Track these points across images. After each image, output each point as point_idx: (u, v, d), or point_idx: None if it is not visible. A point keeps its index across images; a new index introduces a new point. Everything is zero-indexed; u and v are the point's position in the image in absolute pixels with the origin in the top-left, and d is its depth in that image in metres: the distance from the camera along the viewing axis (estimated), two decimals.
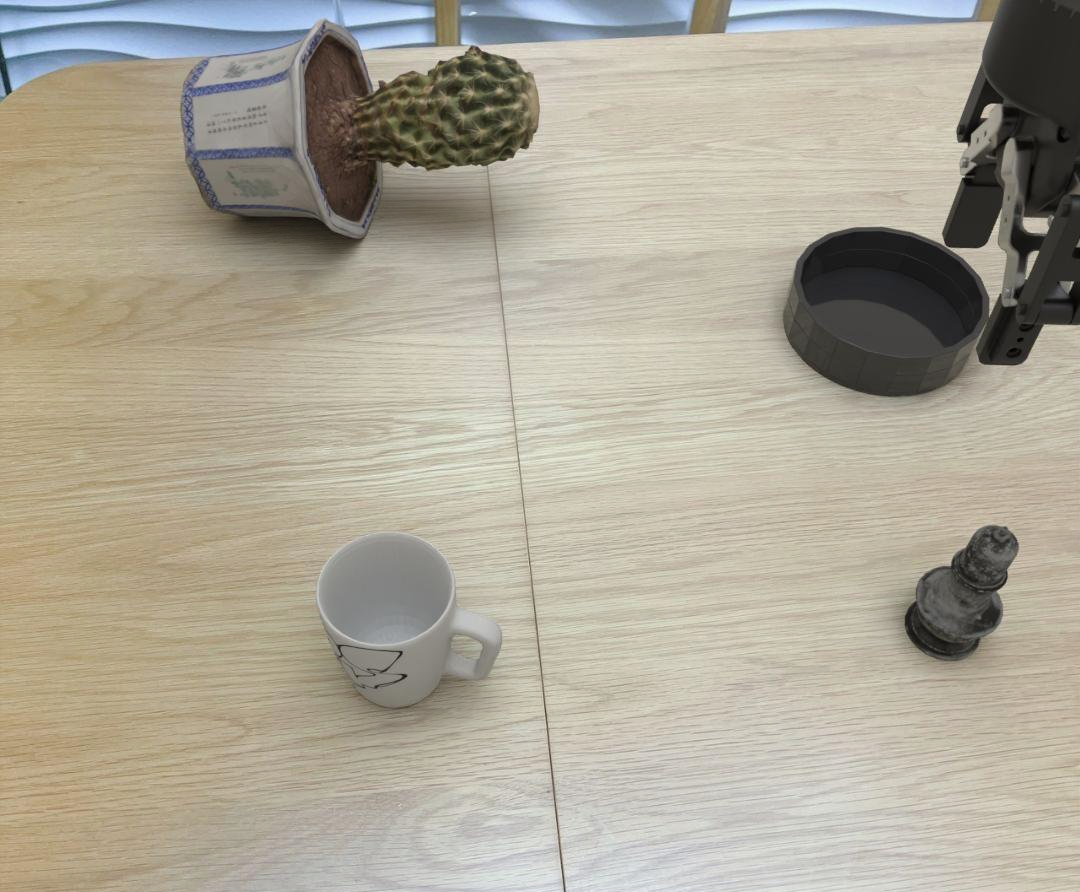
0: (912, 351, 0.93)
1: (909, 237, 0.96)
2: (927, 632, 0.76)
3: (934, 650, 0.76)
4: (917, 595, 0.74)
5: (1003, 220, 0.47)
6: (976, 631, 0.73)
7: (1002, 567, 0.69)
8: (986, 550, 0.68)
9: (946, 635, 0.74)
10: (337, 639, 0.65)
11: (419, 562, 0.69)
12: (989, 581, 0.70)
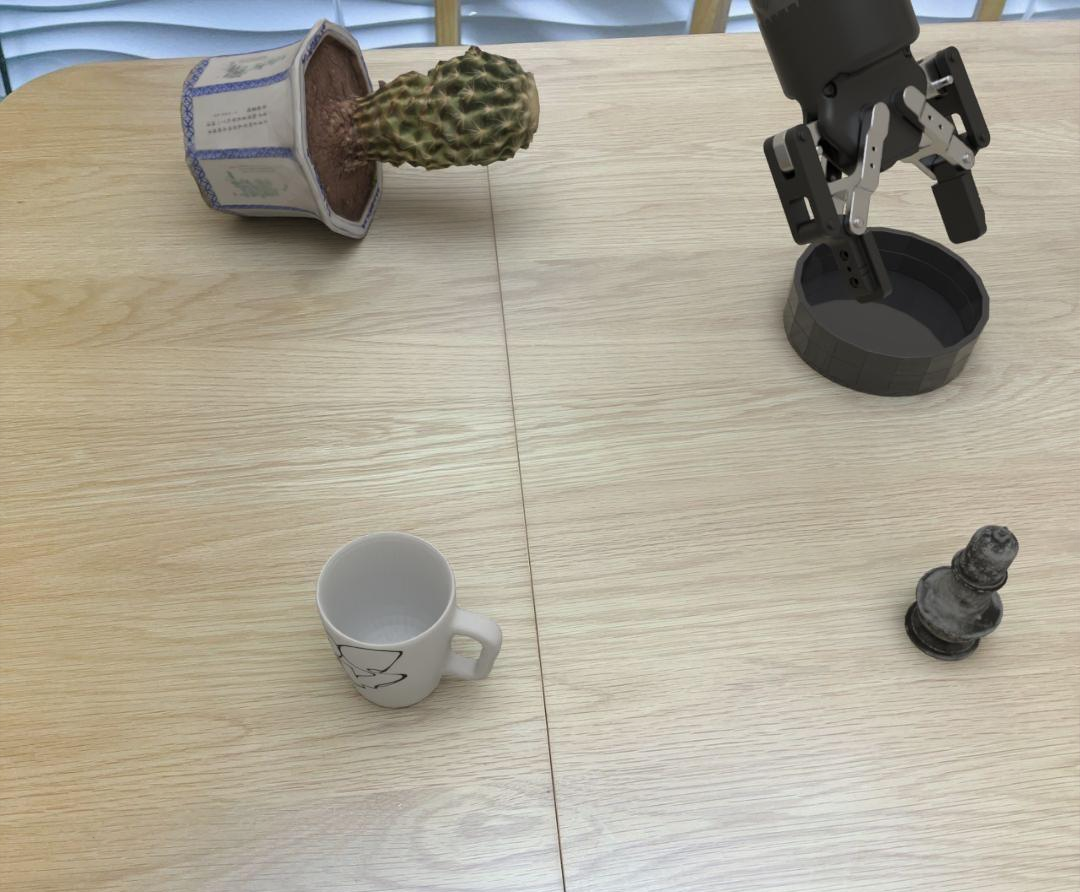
0: (912, 351, 0.93)
1: (909, 237, 0.96)
2: (927, 632, 0.76)
3: (934, 649, 0.76)
4: (917, 595, 0.74)
5: None
6: (976, 631, 0.73)
7: (1002, 567, 0.69)
8: (986, 550, 0.68)
9: (946, 635, 0.74)
10: (337, 639, 0.65)
11: (419, 562, 0.69)
12: (989, 581, 0.70)
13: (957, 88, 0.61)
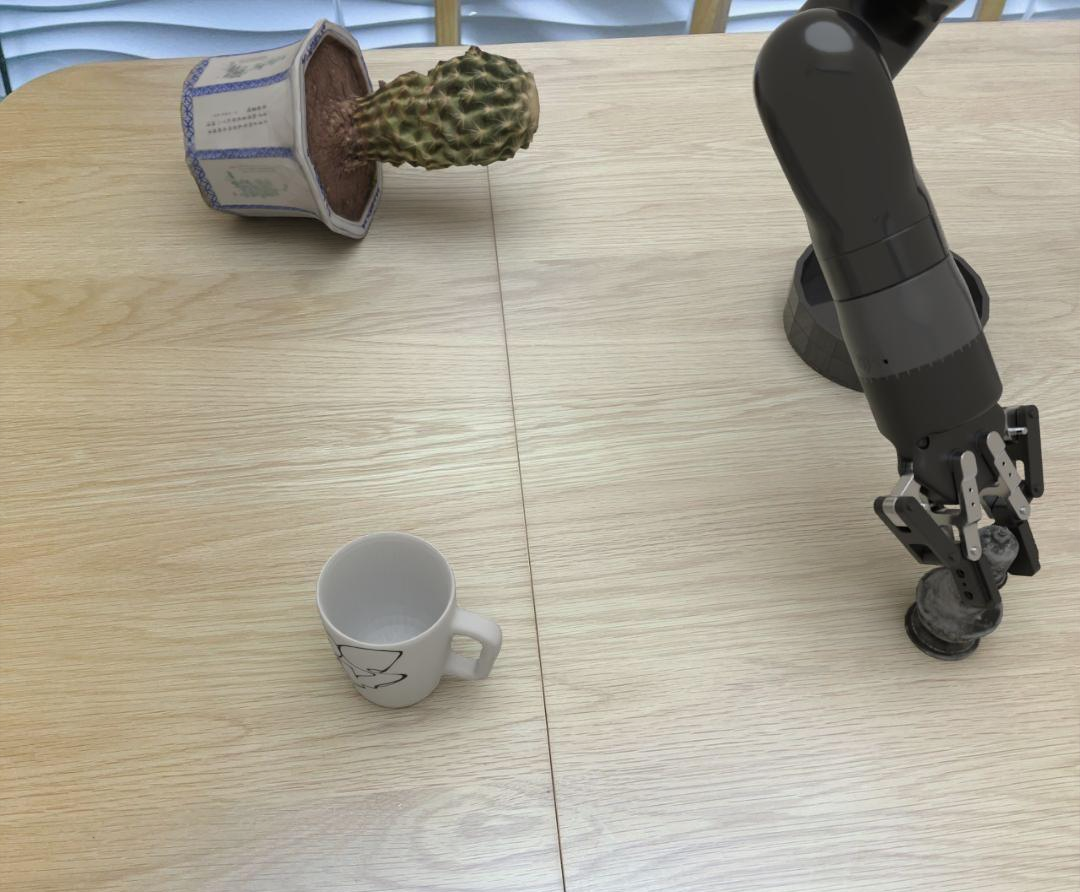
0: None
1: None
2: (927, 632, 0.76)
3: (934, 650, 0.76)
4: (917, 595, 0.74)
5: None
6: (976, 632, 0.73)
7: (1002, 567, 0.69)
8: (986, 550, 0.68)
9: (946, 635, 0.74)
10: (337, 639, 0.65)
11: (419, 562, 0.69)
12: None
13: (1028, 440, 0.69)
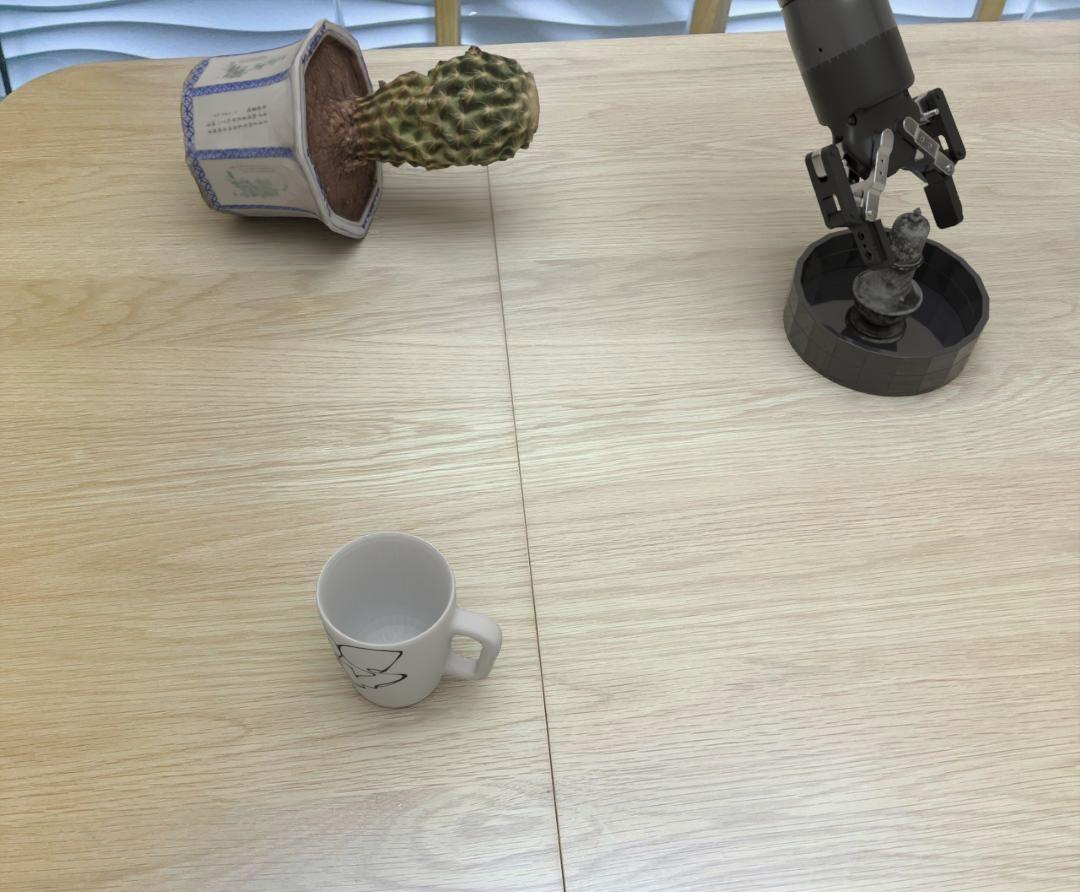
0: (912, 351, 0.93)
1: None
2: (863, 323, 0.94)
3: (868, 335, 0.93)
4: (853, 286, 0.92)
5: None
6: (900, 310, 0.90)
7: (917, 244, 0.86)
8: (903, 228, 0.86)
9: (876, 316, 0.91)
10: (337, 639, 0.65)
11: (419, 562, 0.69)
12: (908, 259, 0.88)
13: (942, 117, 0.86)
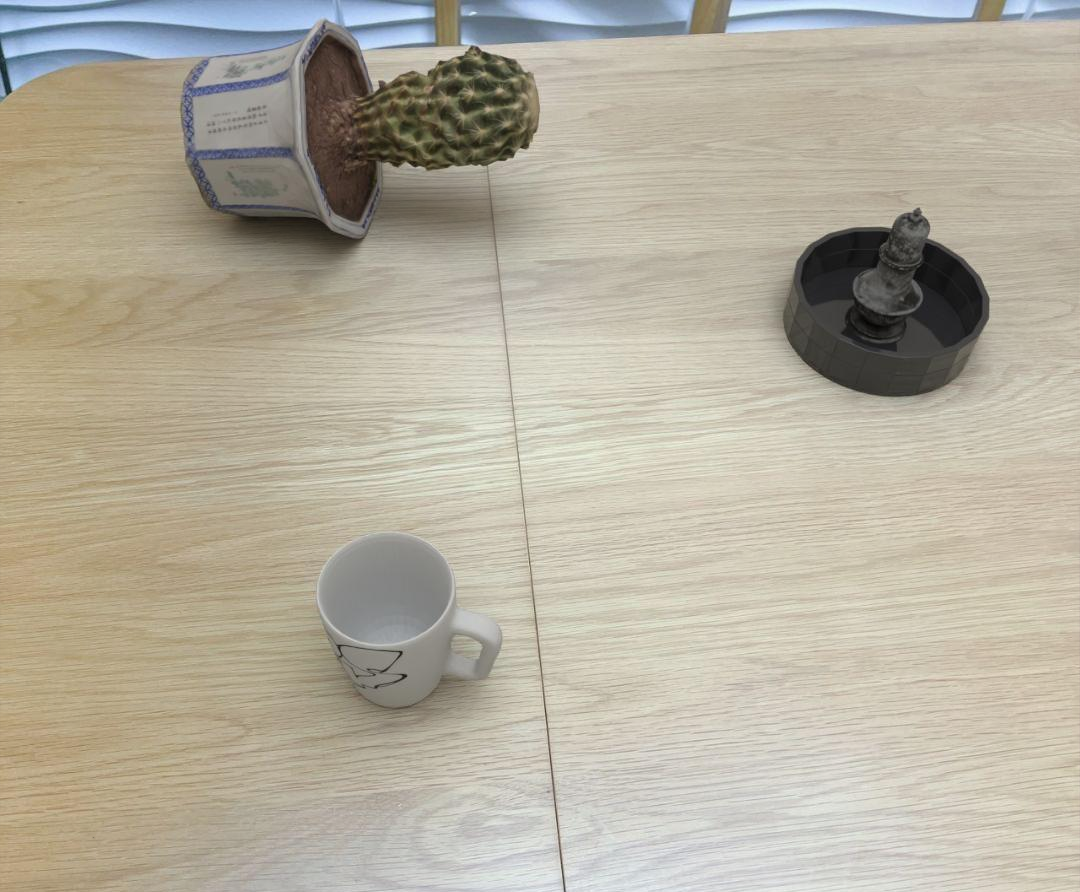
0: (912, 351, 0.93)
1: None
2: (863, 323, 0.94)
3: (868, 335, 0.93)
4: (853, 286, 0.92)
5: None
6: (900, 310, 0.90)
7: (917, 244, 0.86)
8: (903, 228, 0.86)
9: (876, 316, 0.91)
10: (337, 639, 0.65)
11: (419, 562, 0.69)
12: (908, 259, 0.88)
13: None
